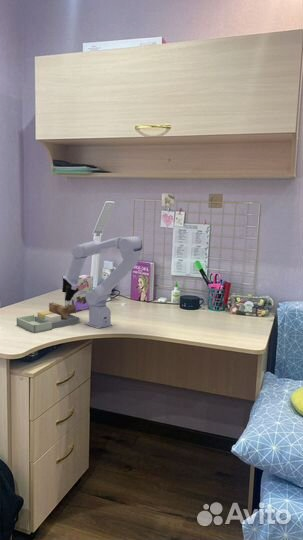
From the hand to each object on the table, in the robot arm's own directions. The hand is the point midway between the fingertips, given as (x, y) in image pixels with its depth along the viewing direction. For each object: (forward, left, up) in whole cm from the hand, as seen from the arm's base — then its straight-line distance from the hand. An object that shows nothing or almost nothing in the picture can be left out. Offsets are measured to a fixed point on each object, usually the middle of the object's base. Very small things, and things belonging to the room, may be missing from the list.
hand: (65, 296), depth 192 cm
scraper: (-3, +2, -7) cm, 8 cm away
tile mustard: (0, +10, -8) cm, 13 cm away
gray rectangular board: (-3, +11, -11) cm, 15 cm away
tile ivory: (-6, +10, -8) cm, 14 cm away
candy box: (+11, -14, -11) cm, 21 cm away
